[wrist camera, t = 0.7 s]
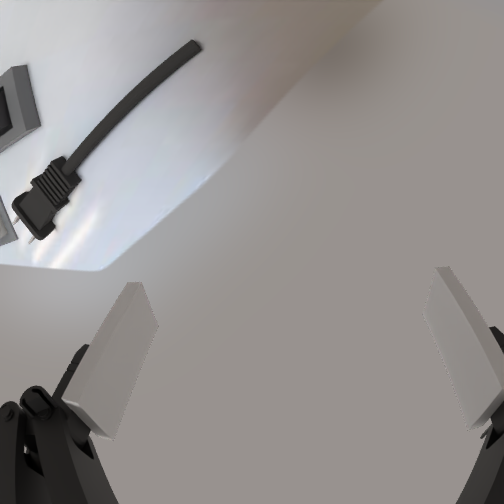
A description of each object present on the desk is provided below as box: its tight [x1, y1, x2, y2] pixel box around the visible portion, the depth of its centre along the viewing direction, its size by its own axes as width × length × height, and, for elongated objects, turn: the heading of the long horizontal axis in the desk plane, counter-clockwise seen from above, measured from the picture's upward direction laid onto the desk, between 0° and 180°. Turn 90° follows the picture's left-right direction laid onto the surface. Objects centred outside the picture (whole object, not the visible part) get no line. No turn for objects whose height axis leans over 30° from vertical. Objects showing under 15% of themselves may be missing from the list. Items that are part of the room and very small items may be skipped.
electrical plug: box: [12, 40, 201, 244], centre depth 36 cm, size 9×42×5 cm, turn 126°
